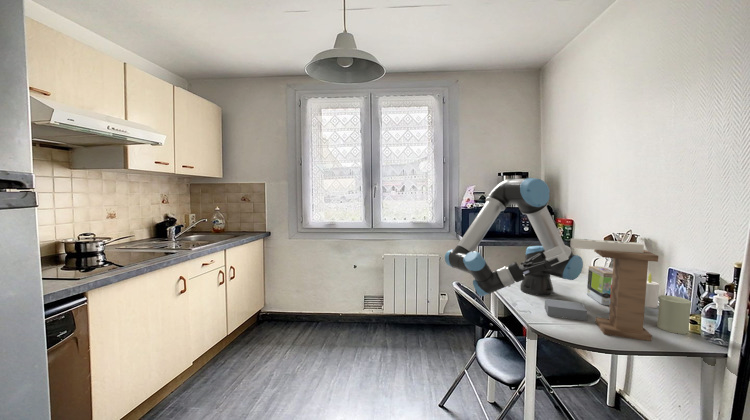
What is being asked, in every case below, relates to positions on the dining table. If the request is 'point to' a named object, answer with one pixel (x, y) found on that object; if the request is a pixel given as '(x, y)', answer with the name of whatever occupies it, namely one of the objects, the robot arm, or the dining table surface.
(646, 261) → the walnut pedestal
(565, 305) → the charcoal platform
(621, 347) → the dining table surface
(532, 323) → the dining table surface
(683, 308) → the can
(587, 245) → the domino bar
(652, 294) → the candle
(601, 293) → the tea box
